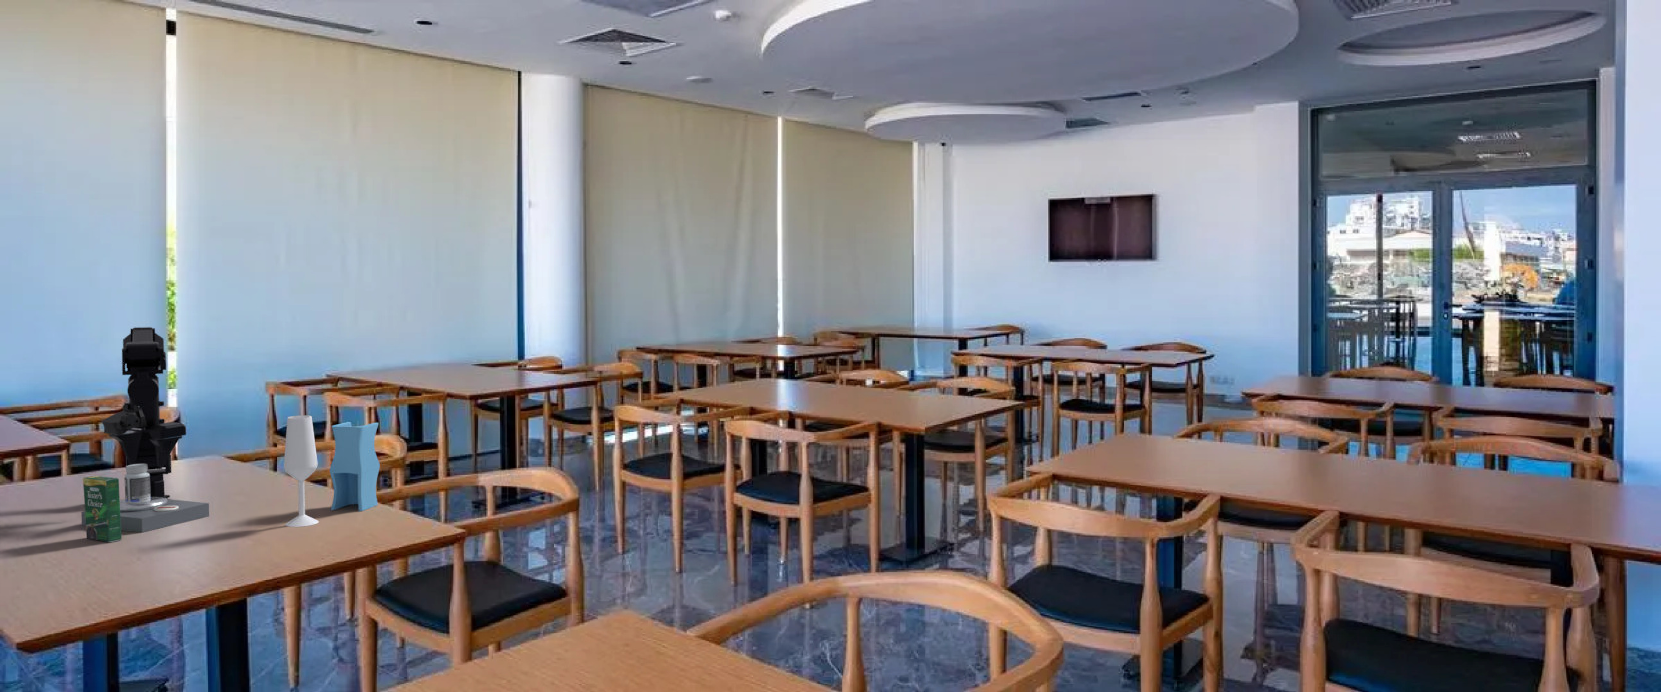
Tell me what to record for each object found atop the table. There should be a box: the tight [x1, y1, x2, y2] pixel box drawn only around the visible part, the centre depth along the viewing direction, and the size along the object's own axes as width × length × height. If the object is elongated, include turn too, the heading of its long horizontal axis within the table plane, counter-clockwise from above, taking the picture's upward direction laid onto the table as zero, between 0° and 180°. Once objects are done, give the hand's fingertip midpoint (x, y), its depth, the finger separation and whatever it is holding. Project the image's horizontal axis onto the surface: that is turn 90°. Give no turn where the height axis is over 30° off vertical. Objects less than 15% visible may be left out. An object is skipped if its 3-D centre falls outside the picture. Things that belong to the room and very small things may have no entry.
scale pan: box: [120, 497, 168, 512], centre depth 225 cm, size 11×11×1 cm
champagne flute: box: [283, 415, 320, 528], centre depth 223 cm, size 7×7×24 cm
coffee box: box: [82, 475, 122, 543], centre depth 208 cm, size 8×3×13 cm, turn 66°
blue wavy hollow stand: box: [329, 421, 381, 512], centre depth 240 cm, size 8×8×20 cm
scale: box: [81, 498, 210, 533], centre depth 225 cm, size 18×16×4 cm
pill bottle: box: [123, 464, 151, 504], centre depth 225 cm, size 5×5×8 cm
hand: (146, 465), depth 229 cm, fingers open, 9 cm apart
